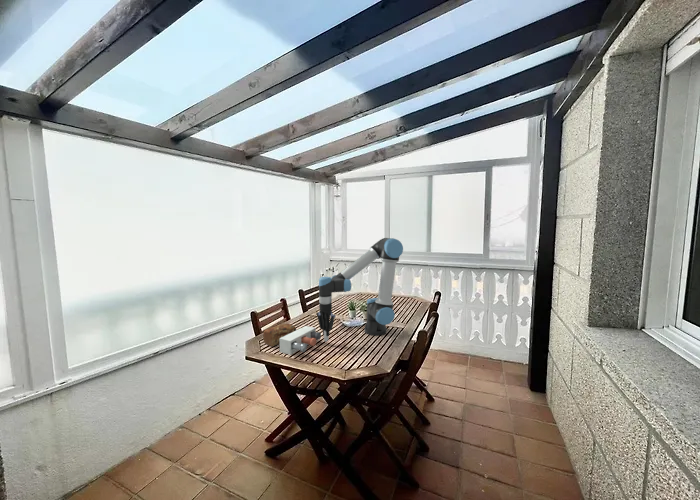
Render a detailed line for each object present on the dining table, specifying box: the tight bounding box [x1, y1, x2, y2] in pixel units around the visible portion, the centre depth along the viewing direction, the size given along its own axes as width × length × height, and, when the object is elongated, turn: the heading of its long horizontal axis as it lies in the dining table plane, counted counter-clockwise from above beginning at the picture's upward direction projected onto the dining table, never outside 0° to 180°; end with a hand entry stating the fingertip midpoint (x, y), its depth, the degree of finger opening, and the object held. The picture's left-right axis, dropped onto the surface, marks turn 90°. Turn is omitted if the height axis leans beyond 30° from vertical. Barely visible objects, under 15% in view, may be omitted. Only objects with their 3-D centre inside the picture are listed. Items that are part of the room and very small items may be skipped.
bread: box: [262, 323, 297, 348], centre depth 182 cm, size 19×11×10 cm, turn 138°
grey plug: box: [311, 331, 322, 341], centre depth 180 cm, size 11×5×5 cm, turn 61°
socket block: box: [279, 325, 317, 356], centre depth 174 cm, size 8×24×8 cm, turn 150°
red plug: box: [301, 337, 317, 347], centre depth 171 cm, size 11×5×5 cm, turn 61°
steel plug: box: [291, 342, 308, 353], centre depth 163 cm, size 11×5×5 cm, turn 61°
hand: (326, 340), depth 175 cm, fingers closed
